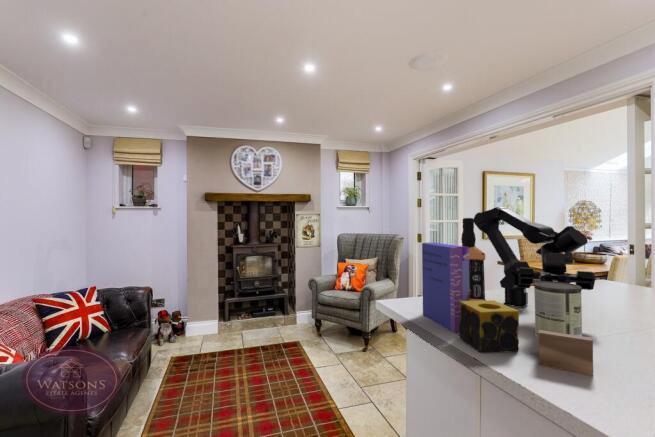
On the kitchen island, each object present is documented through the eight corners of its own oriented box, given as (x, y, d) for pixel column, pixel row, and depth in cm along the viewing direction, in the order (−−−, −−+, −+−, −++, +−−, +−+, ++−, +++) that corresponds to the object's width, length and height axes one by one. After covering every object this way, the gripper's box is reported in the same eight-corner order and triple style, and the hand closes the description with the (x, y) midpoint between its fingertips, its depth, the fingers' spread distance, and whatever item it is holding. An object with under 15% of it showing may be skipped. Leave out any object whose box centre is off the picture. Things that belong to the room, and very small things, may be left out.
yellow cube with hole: (458, 338, 85) (457, 300, 85) (494, 336, 86) (493, 299, 86) (479, 354, 75) (479, 311, 75) (520, 352, 75) (519, 310, 76)
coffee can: (538, 328, 91) (537, 279, 91) (584, 337, 84) (583, 284, 84) (530, 338, 84) (530, 285, 84) (580, 349, 77) (579, 290, 77)
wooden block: (538, 351, 75) (538, 322, 75) (587, 360, 70) (586, 329, 71) (539, 365, 69) (538, 332, 69) (593, 375, 64) (592, 340, 64)
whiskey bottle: (487, 312, 107) (486, 217, 107) (456, 310, 110) (455, 218, 110) (481, 304, 117) (480, 217, 117) (452, 303, 120) (451, 218, 120)
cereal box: (469, 331, 89) (468, 246, 89) (454, 333, 88) (453, 246, 88) (435, 314, 106) (435, 242, 106) (422, 315, 105) (422, 242, 105)
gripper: (517, 242, 101) (518, 282, 92) (593, 243, 91) (602, 289, 82) (518, 263, 108) (518, 303, 98) (588, 267, 98) (596, 312, 89)
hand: (556, 302), depth 92 cm, fingers closed
